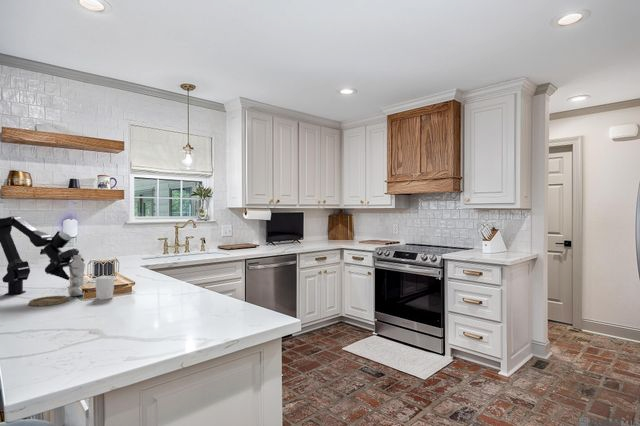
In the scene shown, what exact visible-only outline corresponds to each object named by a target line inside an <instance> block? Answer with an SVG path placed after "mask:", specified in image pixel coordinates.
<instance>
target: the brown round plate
mask: <svg viewBox="0 0 640 426" xmlns="http://www.w3.org/2000/svg"><path fill="white" fill-rule="evenodd" d="M68 301H69V299H68V296H65V295H50V296H42V297H36V298H32V299H30V300H29V302H28V303H27V304H28V305H27V306H30V307H48V306H57V305H61V304H65V303H66V302H68Z"/></svg>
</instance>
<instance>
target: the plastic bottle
mask: <svg viewBox="0 0 640 426" xmlns="http://www.w3.org/2000/svg"><path fill="white" fill-rule="evenodd" d="M81 258H83V257H82V254H79V253H78V254H77V255H72V260H71V261H70V262H71V263H70V265H69V267H68V272H69V278H70V279H69V287H68V290H67V291H68V295H69V297H71V296H72V297H79V296H83V295H84V294H83V293H82V291H81V290H80V289H79V287H80V286H82V285H84V277H85V267H86V264H85V261H82V260H81ZM84 286H85V285H84Z"/></svg>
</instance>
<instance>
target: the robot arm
mask: <svg viewBox="0 0 640 426" xmlns="http://www.w3.org/2000/svg"><path fill="white" fill-rule="evenodd" d="M12 227H14V228H15V229H16V230H18V231H19V232H21V233H22V234H24V236H26V237H28V239H29V241H30V243H31V244H32V245H33V246H35V247H36V248H41V249H40V251H39V255H46V256H47V257H48V258H49V263H48V265H47V266H46V267H45V268H44V272H45V273H46V275H51V276H55V277H59V278H60V279H64V280H66V281H70V275H68V274H67V272H66V271H65V270H64V268H67V267H68V268H69V265H70V263H71V262H72V260H73V259H72V255H77V254H79V253H80V250H78V248H77V247H73V248H71V249H67V250H65V251H62V250H61V249H63V248H64V247H65V246H66V245H68V243H69V242H70V241H71V240H72V236H71V235H70V234H68V233H66V232H64V231H63V230H57V231H56V233H55V234H54V235H53V236H52V235H51V234H48V233H47V232H44V231H40V230H38V229H37V228H35V227H33V226H32V225H31V224H30V223H28V222H27V221H25V220H24V219H23V218H22V217H20V216H18V215H17V216H16V215H15V216H12V215H11V216H8V217H1V218H0V246H1V248H2V250H3V253H4V255H5V256H4V257H5V258H6V261H7V267H6V272H7V273H6V274H5V275H4V276H3V277H2V283H7V292H5V293H4V295H5V296H7V295H8V296H9V295H21V294H24V293H26V291H27V290H24V281H27V280H28V278H29V275H30V273H31V267H30V265H29V262H28V260H25V261H23V260H22V258H21V257H20V254H19V252H18V249H17V246H16V244H15V241H14V239H13V236H12V235H11V232H12ZM42 247H44V248H42ZM81 260H82V261H83V262H85V259H84V258H83V257H82V258H81Z"/></svg>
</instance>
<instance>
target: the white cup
mask: <svg viewBox="0 0 640 426" xmlns="http://www.w3.org/2000/svg"><path fill="white" fill-rule="evenodd" d="M94 281H95V293H96V296H95V297H96V300H101V301H102V300H103V301H104V300H109V299H112V298H113V297H114V291H115V290H114V289H115V276H114V275H100V276H95V279H94Z"/></svg>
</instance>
